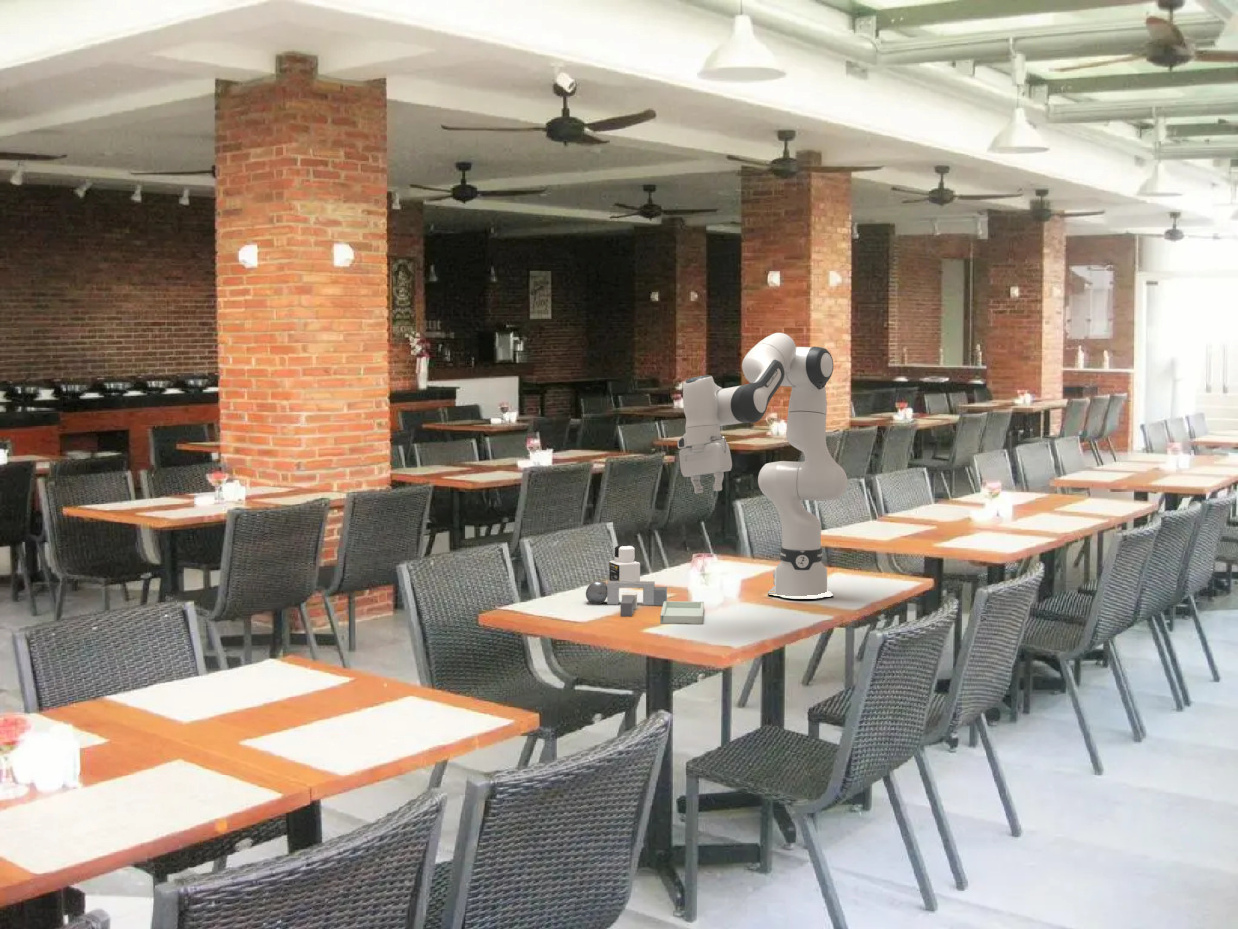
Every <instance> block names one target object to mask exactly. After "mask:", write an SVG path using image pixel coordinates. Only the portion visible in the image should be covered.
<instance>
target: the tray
mask: <svg viewBox="0 0 1238 929" xmlns="http://www.w3.org/2000/svg"><path fill="white" fill-rule="evenodd" d="M704 612H705V602H704V601H685V600H684V601H681V600H680V601H676V600H674V601H673V600H667V601H664V603H663V606H661V611H660V614H659V615H660V616H659V617H660V618H659V619H660V620H659V622H660V624H674V623H683V624H684V623H691V624H690V625H703V623H704V614H703V613H704ZM684 625H685V624H684Z"/></svg>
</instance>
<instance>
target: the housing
mask: <svg viewBox="0 0 1238 929" xmlns="http://www.w3.org/2000/svg"><path fill="white" fill-rule="evenodd" d="M655 583H656V582H655V581H647V580H646V581H645V580H644V581H643V580H642V581H641V580H640V581H609V580H608V581H607V583H606V582H604V581H603V580H600V579H597V580H593V581H592V582H590V583H589V585H588V586H587V588H586V590H585V597H586V599H587V601H588V602H589V603H590V604H592V605H595V606H597V605H598V606H599V605H601V604H602V603H605V601H606V604H607V605H610V604H616V605H619V604H620V589H623V588H624V589H642V606H656V607H663V603H664V601H668V586H656V584H655ZM616 605H615V606H616Z"/></svg>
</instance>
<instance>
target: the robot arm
mask: <svg viewBox="0 0 1238 929" xmlns="http://www.w3.org/2000/svg"><path fill="white" fill-rule="evenodd" d="M741 368H742V369H741V370H742V373H743V375H744V378H745V379H746V380H747V382H749V383H745V384H743V385H737V386H732V387H725V388H723V387H722V386H719V385H717V383H715V380H714V378H713V375H709V374H706V375H699V376H695V377H690V378H688V379H686V381H684V382H683V389H682V392H683V393H682V404H683V413H684V416H685V419H686V420H685V427H684V429H685V433H684V434H683V435H682V436H681V437H680V438H679V439H678V440H677V448H678V449H679V455H678V458H679V466H680V467H679V468H680V472H681V475H682V476H683V478H689V477H690V481H691V484H692V486H693V488H694V493H695V494H703V493H704V486H703V485H702V484H701V483H702V482H701V481H700V480H701V476H704V475H711V474H713V477H714V483H713V484H712V488H713V492H720V491H722V490H723V481H724V478H725V475H724V472H730V471H732V468H733V462H732V460H733V459H732V454H731V450H730V446H729V444H728V442H727V440H726V438H725V437H724V436H723V435H722V434H721V427H722V426H729V425H732V426H733V425H738V424H748V423H749V424H751V423H757V422H759V421H761V420H762V418H763V417H764V416H765V413H766V411H767V408H768V405H769V403H770V402H771V400H772V398H773V397H774V396H775V394H776V392H777V391H778V389H779V388H780V387H791V392H790V396H789V402H788V409H787V421H786V434H785V436H786V440H787V442H788V443H789V444H790V445H791V446H792V447H793V448H795V449H797V450H798V451H800V452H802V453H803V455H804V461H787V460H780V461H773V462H768V463H765V464H764V465H763V466H762V467H761V469H760V470H759V472H758V478H757V483H758V488H759V490H760V492H762V494H763V495H764V496H765V497H766V498H767V499H769V501H770V502H771V503H773V505H774V508H776V510H777V513H778V515H779V518H780V524H781V525H780V526H781V547H780V551H779V555H780V556H779V558H780V559H779V560H780V562H779V563H778V564H777V566H776V567H775V569H774V570H773V573H772V574H773V575H772V578H773V579H774V580H773V587H772V588H770V589H769V590H768V591H767V594H768V593H769V594H777V595H785V596H807V595H818V594H821V593H825V592H827V589H828V568H826V566H825V565H824V564H823V562H822V560H823V548H822V547H821V546H822V544H821V540H822V538H821V536H822V525H821V524H822V523H821V521H820V520H819V518H818V517H817V516H816V515H814V514H813V513H811V512H809V511H808V510H806V509H805V507H804V505H803V503H802V501H813V502H814V501H815V502H817V501H818V502H827V501H834V500H839V499H840V498H841V497H843V495H844V494H845V493H846V491H847V490H846V489H847V488H848V477H847V474H846V472H845V470H844V468H843V467H842V466H840V465H839V464H838V463H837V461H835V460H834V458H833V457H832V455H831V454H830V452H829V448H828V445H827V437H826V436H827V434H826V433H827V432H826V431H827V427H826V426H827V425H826V424H827V412H828V409H827V408H828V407H827V404H828V403H827V402H828V401H827V392H826V391H827V390H826V385H827V383H828V382H829V380H830V379H831V378H832V375H833V371H834V359H833V355H831V352H830V351H829V350H828V349H827V348H824V347H820V346H797V345H796V343H795V341H794V339H793V338H792V337H791V336H789V335H788V334H786V333H783V332H775V333H772V334H769V335H768V336H766V337H764V338H763V339H762V340H760V341H758V342H757V343H756V344H755V345H754V346H753V347H752V348H751V349H750V350H749V351H748V352H747V353H746V354H745V356H744V358H743V359H742V364H741ZM774 585H775V586H774ZM771 591H775V592H771Z"/></svg>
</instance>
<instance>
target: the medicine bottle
mask: <svg viewBox="0 0 1238 929" xmlns="http://www.w3.org/2000/svg"><path fill="white" fill-rule="evenodd" d="M635 549H636V548H635V547H634V546H633V545H631V544H620V545H619V544H618V545H616V546H615V547H614V560H610V561H609V563H608V564H609V566H608V567H609V569H608V570H609V571H608V572H609V579H608V581H641V563H640V562H639V561H636V559H635V558H636V557H635V556H636V555H635V554H636V552H635V551H636V550H635Z"/></svg>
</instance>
